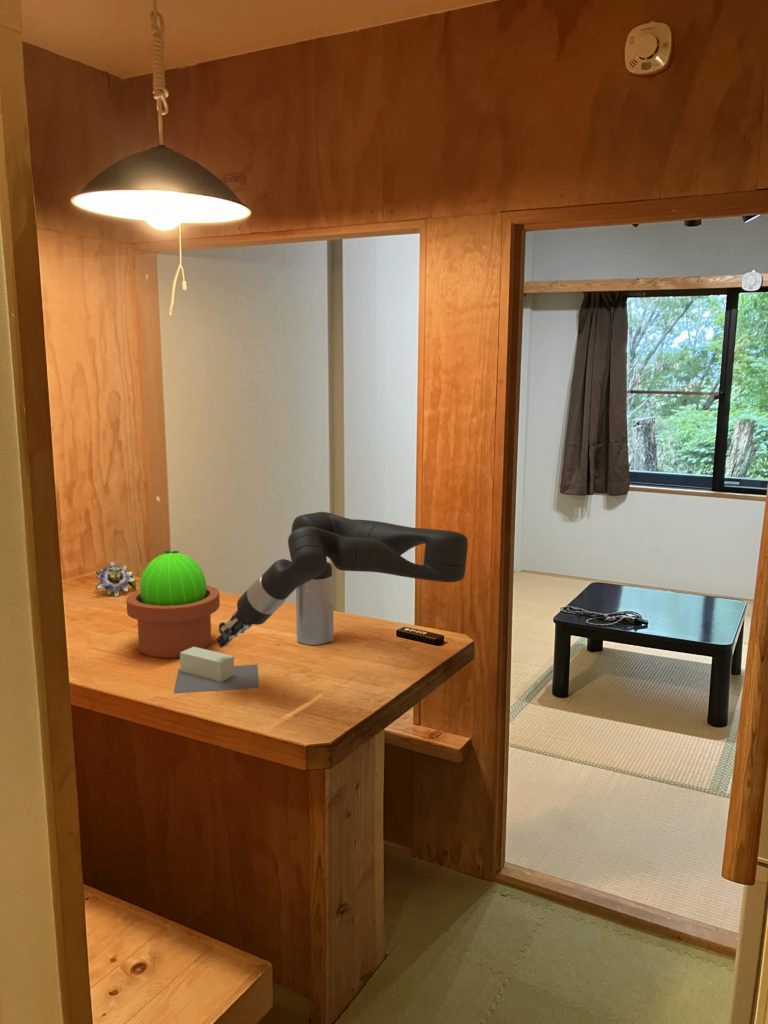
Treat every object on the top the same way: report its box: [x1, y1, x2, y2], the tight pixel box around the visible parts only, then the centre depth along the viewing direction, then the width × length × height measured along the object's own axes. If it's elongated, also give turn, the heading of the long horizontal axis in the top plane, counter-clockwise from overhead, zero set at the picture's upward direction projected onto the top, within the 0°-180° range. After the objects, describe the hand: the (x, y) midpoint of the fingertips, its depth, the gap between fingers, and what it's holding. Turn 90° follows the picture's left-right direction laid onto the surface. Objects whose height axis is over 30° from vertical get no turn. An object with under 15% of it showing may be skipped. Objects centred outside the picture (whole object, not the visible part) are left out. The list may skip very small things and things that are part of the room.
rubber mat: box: [173, 663, 260, 694], centre depth 178 cm, size 18×14×1 cm
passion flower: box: [95, 561, 137, 598], centre depth 247 cm, size 11×11×12 cm
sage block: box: [179, 647, 235, 682], centre depth 180 cm, size 4×4×12 cm
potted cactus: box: [125, 550, 221, 659], centre depth 198 cm, size 22×22×25 cm
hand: (220, 643), depth 177 cm, fingers closed
